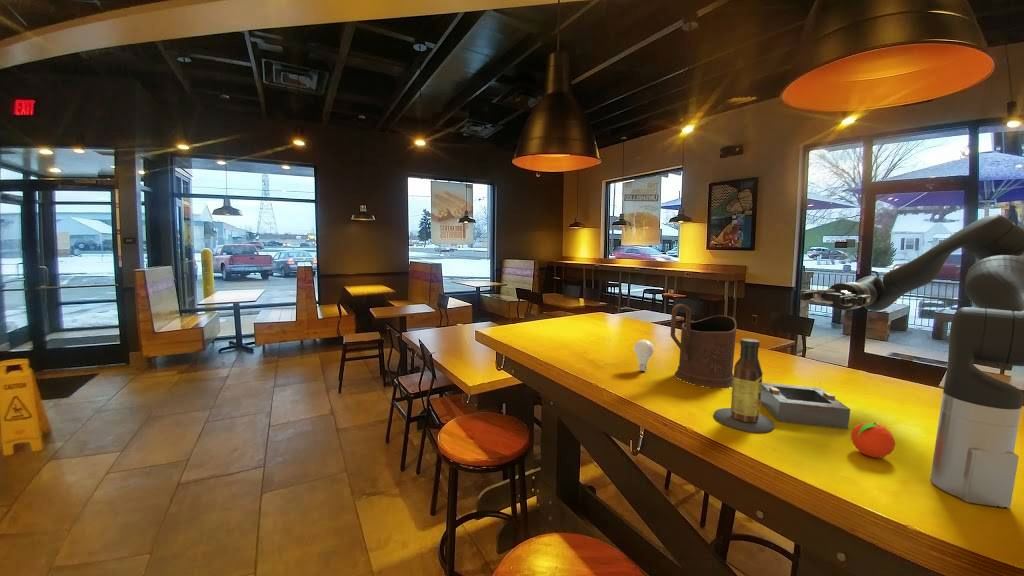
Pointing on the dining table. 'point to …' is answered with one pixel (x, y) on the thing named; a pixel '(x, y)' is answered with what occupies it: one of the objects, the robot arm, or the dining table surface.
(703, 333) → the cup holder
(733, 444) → the dining table surface
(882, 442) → the red tomato
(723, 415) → the coaster
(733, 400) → the sauce bottle
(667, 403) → the dining table surface
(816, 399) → the square ashtray
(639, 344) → the lightbulb
